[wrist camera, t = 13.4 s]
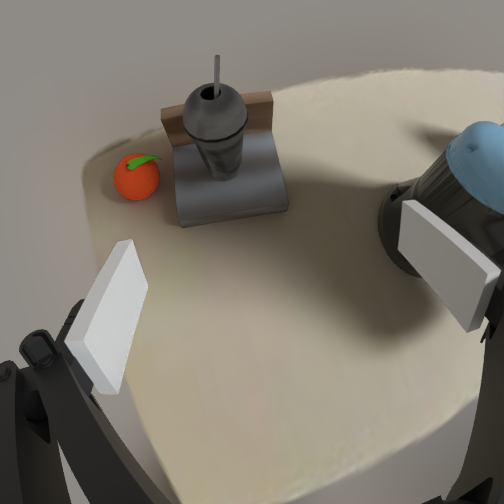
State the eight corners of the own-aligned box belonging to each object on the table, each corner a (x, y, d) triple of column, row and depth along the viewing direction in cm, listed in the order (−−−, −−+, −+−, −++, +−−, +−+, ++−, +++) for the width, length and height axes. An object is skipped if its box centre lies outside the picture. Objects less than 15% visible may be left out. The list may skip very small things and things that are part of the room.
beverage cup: (192, 158, 43) (156, 55, 24) (237, 139, 44) (227, 30, 25) (210, 198, 42) (177, 98, 22) (259, 177, 42) (259, 70, 23)
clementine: (162, 157, 47) (149, 132, 40) (177, 191, 45) (165, 168, 38) (119, 180, 46) (101, 158, 39) (131, 215, 45) (112, 196, 38)
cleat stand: (176, 147, 47) (160, 109, 38) (268, 132, 48) (270, 90, 38) (182, 227, 44) (163, 199, 34) (286, 210, 44) (294, 178, 34)
